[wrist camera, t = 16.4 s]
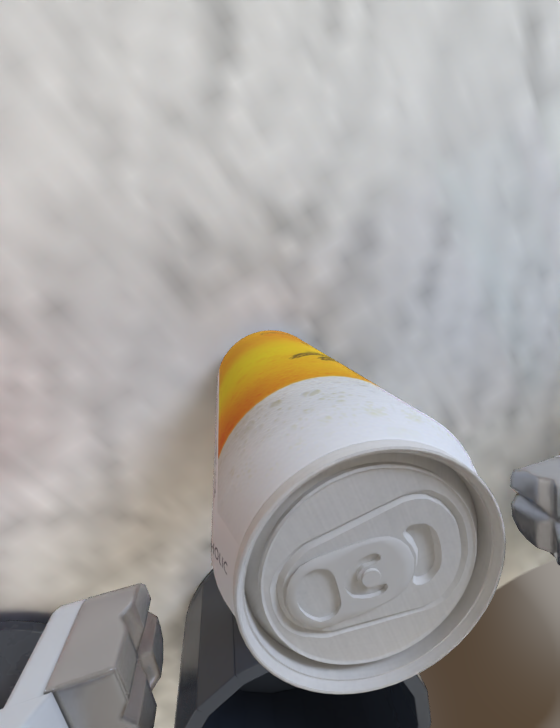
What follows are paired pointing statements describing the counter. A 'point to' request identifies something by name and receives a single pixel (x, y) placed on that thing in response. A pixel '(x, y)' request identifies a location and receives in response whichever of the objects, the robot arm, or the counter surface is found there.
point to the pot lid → (15, 652)
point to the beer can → (343, 522)
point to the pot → (271, 684)
